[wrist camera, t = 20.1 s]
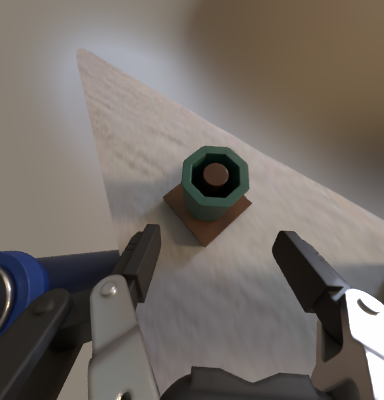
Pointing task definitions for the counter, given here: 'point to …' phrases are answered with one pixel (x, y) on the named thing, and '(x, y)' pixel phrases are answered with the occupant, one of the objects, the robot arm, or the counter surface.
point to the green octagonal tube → (230, 192)
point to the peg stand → (210, 187)
